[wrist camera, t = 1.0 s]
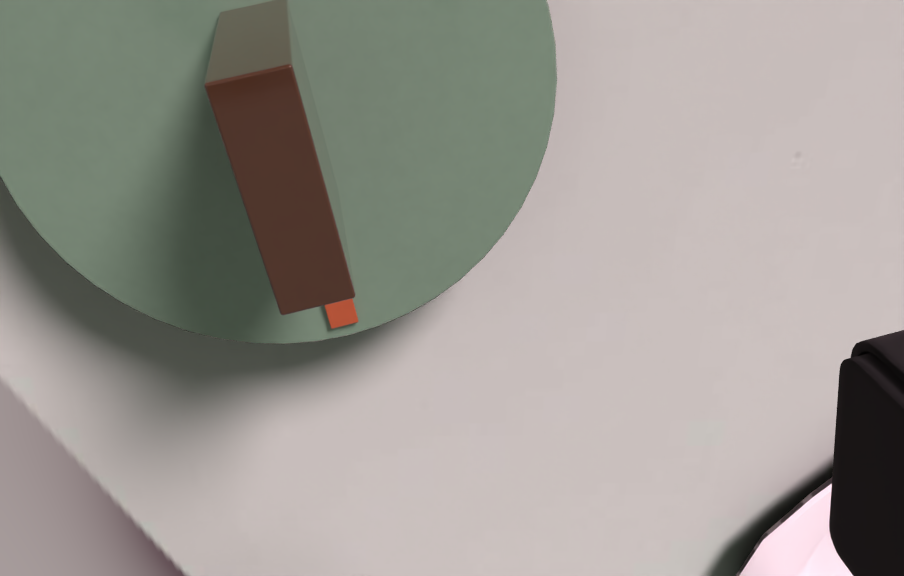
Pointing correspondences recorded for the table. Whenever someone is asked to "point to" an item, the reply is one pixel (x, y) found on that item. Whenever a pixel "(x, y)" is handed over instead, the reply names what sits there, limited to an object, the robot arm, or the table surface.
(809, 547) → the plate
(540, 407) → the table surface
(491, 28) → the turntable plate
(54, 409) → the table surface
